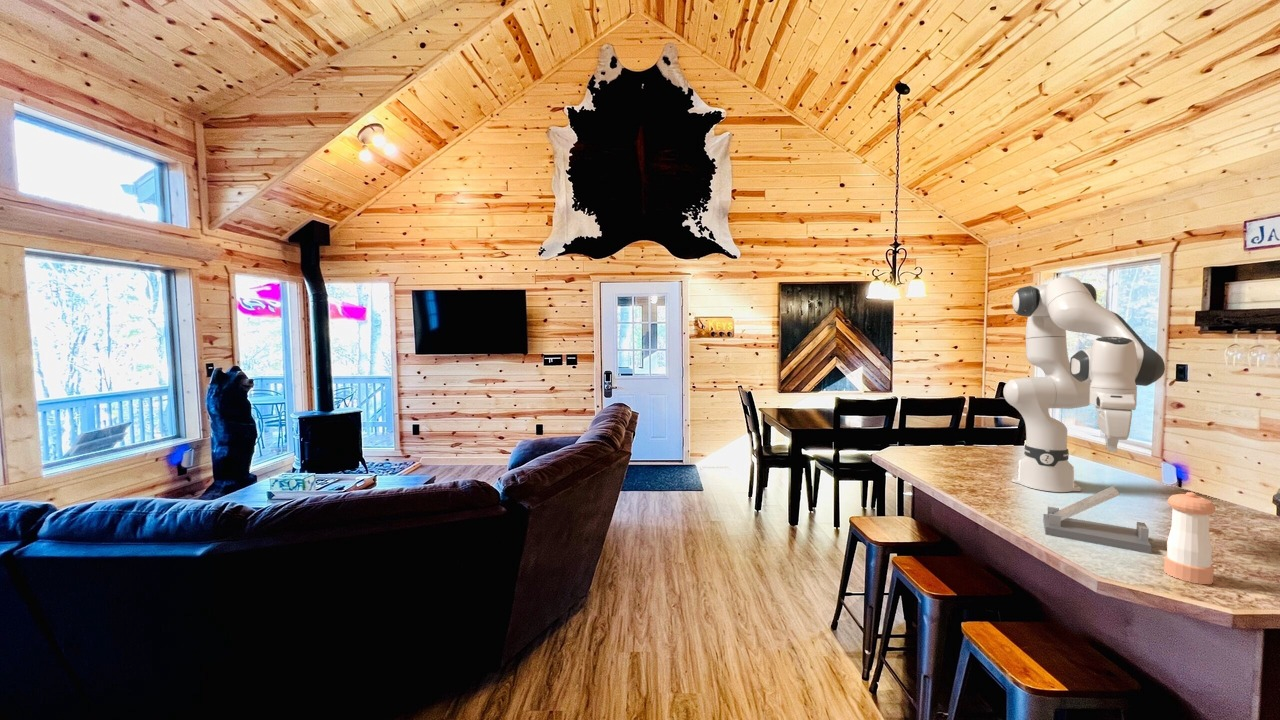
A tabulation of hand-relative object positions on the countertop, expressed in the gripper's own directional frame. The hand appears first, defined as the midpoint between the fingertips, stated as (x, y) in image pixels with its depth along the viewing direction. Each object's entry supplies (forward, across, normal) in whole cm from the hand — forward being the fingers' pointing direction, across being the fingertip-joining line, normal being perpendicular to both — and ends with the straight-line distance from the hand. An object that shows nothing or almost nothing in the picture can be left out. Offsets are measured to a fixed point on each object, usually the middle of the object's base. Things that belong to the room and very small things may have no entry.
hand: (1111, 450), depth 126 cm
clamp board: (+24, 0, -3) cm, 24 cm away
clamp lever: (+16, 0, -5) cm, 17 cm away
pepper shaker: (+24, +17, +11) cm, 31 cm away
